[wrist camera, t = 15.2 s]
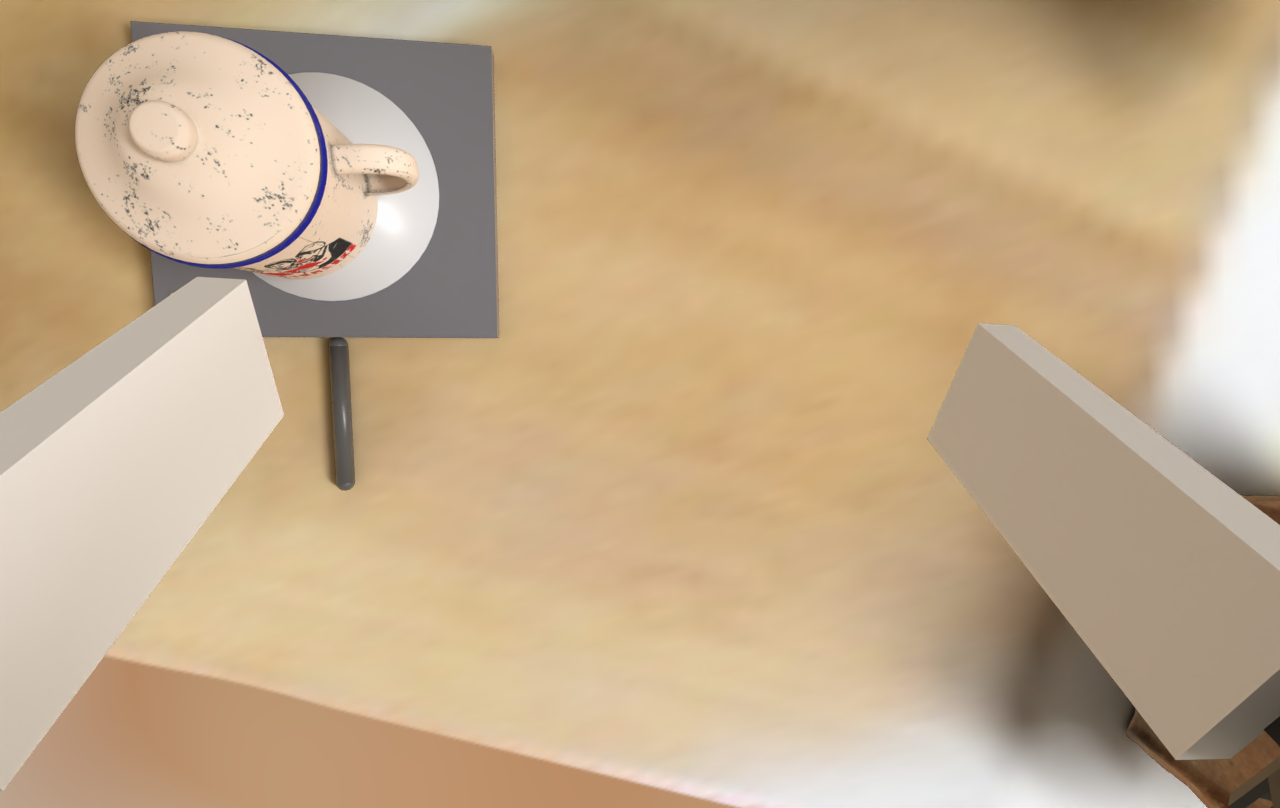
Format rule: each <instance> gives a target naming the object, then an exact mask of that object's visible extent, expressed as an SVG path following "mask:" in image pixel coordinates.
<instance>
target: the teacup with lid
mask: <svg viewBox="0 0 1280 808" xmlns="http://www.w3.org/2000/svg"><path fill="white" fill-rule="evenodd" d="M75 143H76V150H77V156H78V160H79V164H80V167H81V170H82V173H83V176H84V178H85V180H86V182H87V185H88V187H89V189H90V190H91V192H92V194H93V196H94V197H95V199H96V201H97V202H98V203H99V205H100V206H101V208H102V209H103V210H104V211H105V213H106V214H107V215H108V216H109V217H110V219H111V220H112V221H113V222H114V223H115V224H116V225H118V226H119V227H120V228H121V229H122V230H123V231H124V232H125V233H127V234H128V235H129V236H130V237H131V238H133V239H134V240H135V241H137V242H138V243H140V244H141V245H142V246H144V247H146V248H147V249H149V250H151V251H153V252H154V253H156V254H159V255H161V256H163V257H165V258H167V259H170V260H173V261H176V262H178V263H182V264H186V265H190V266H195V267H201V268H212V269H227V268H235V269H240V270H245V271H250V272H255V273H260V274H265V275H270V276H275V277H280V278H286V279H312V278H318V277H322V276H325V275H329V274H331V273H333V272H336V271H338V270H339V269H341V268H343V267H345V266H346V265H347V264H349V263H350V262H351V261H352V260H354V259H355V258H356V257H357V256H358V255H359V254H360V253H361V251H362V250H363V249H364V247H365V246H366V244H367V243H368V241H369V239H370V237H371V235H372V233H373V230H374V227H375V223H376V219H377V212H378V196H377V195H388V194H395V193H400V192H404V191H406V190H409V189H410V188H412V187H413V186H415V185H416V183H417V182H418V179H419V173H418V165H417V162H416V160H415V158H414V157H413V156H412V155H411V154H409V153H408V152H406V151H404V150H402V149H399V148H395V147H391V146H385V145H378V144H353V143H352V142H351V141H350V140H349V139H348V138H347V137H346V136H345V135H344V134H343V133H341V132H340V131H339V130H338V129H337V128H336V127H335V126H334V125H333V124H332V123H331V122H330V121H329V120H327V119H326V118H325V117H324V116H323V115H322V114H321V113H320V112H319V111H318V110H317V109H316V108H314V107H313V106H312V105H311V104H310V102H309V101H308V99H307V97H306V96H305V94H304V93H303V92H302V90H301V89H300V88H299V86H298V85H297V84H296V83H295V82H294V81H293V80H292V78H291V77H290V76H289V75H288V74H287V73H286V72H284V71H283V70H282V69H281V68H280V67H279V66H278V65H276V64H275V63H274V62H273V61H271V60H270V59H268V58H267V57H265V56H264V55H262V54H261V53H259V52H257V51H256V50H254V49H252V48H250V47H248V46H246V45H243V44H241V43H239V42H236V41H233V40H230V39H227V38H224V37H220V36H215V35H211V34H207V33H199V32H187V31H178V32H167V33H160V34H155V35H151V36H148V37H144V38H142V39H139V40H137V41H134V42H132V43H130V44H128V45H126V46H124V47H122V48H121V49H119V50H118V51H116V52H115V53H113V54H112V55H111V56H110V57H109V58H108V59H106V60H105V61H104V62H103V63H102V64H101V65H100V67H99V68H98V69H97V70H96V71H95V73H94V74H93V75H92V77H91V78H90V80H89V82H88V84H87V85H86V87H85V89H84V92H83V94H82V96H81V99H80V102H79V106H78V110H77V115H76V122H75Z"/></svg>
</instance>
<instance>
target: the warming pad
mask: <svg viewBox="0 0 1280 808" xmlns="http://www.w3.org/2000/svg"><path fill="white" fill-rule="evenodd" d="M130 22H131V33H132V42H134V41H137V40H139V39H142V38H144V37H148V36H151V35H155V34H160V33H167V32H178V31H187V32H199V33H207V34H211V35H215V36H220V37H224V38H227V39H230V40H233V41H236V42H239V43H241V44H243V45H246V46H248V47H250V48H252V49H254V50H256V51H257V52H259V53H261V54H262V55H264V56H265V57H267V58H268V59H270V60H271V61H273V62H274V63H275V64H276V65H278V66H279V67H280V68H281V69H282V70H283V71H284V72H286V73H287V74H288V75H289V76H290V77H291V78H292V80H293V81H294V82H295V83H296V84H297V85H298V86H299V88H300V89H301V90H302V92H303V93H304V94H305V96H306V97H307V99H308V101H309V102H310V104H311V105H312V106H313V107H314V108H316V109H317V110H318V111H319V112H320V113H321V114H322V115H323V116H324V117H325V118H326V119H327V120H329V121H330V122H331V123H332V124H333V125H334V126H335V127H336V128H337V129H338V130H339V131H340V132H341V133H343V134H344V135H345V136H346V137H347V138H348V139H349V140H350V141H351V142H352V143H353V144H378V145H385V146H391V147H395V148H399V149H402V150H404V151H406V152H408V153H409V154H411V155H412V156H413V157H414V158H415V160H416V162H417V165H418V173H419V179H418V182H417V183H416V185H415V186H413V187H412V188H410V189H409V190H406V191H404V192H400V193H395V194H388V195H377V196H378V212H377V219H376V223H375V227H374V230H373V233H372V235H371V237H370V239H369V241H368V243H367V244H366V246H365V247H364V249H363V250H362V251H361V253H360V254H359V255H358V256H357V257H356V258H355V259H354V260H352V261H351V262H350V263H349V264H347V265H346V266H345V267H343V268H341V269H339V270H338V271H336V272H333V273H331V274H329V275H325V276H322V277H318V278H312V279H286V278H280V277H275V276H270V275H265V274H260V273H255V272H250V271H245V270H240V269H235V268H227V269H212V268H201V267H195V266H190V265H186V264H182V263H178V262H176V261H173V260H170V259H167V258H165V257H163V256H161V255H159V254H156V253H154V252H153V251H151V250H150V252H151V264H152V276H153V287H154V299H155V305H157V304H158V303H160V302H161V301H163V300H164V299H166V298H167V297H168V296H170V295H171V294H173V293H174V292H176V291H177V290H179V289H180V288H181V287H183V286H184V285H186V284H187V283H189V282H190V281H192V280H193V279H195V278H196V277H210V278H227V279H244V280H247V284H248V288H249V291H250V295H251V298H252V302H253V306H254V309H255V313H256V316H257V320H258V323H259V327H260V331H261V334H262V337H335V338H333V339H332V340H331V341H330V342H329V359H330V377H331V396H332V415H333V433H334V452H335V471H336V485H337V487H338V488H339V489H341V490H349V489H351V488H352V487H353V486H354V484H355V471H354V451H353V431H352V411H351V391H350V371H349V351H348V343H347V341H346V340H345V339H343V338H341V337H388V338H499V298H498V249H497V200H496V151H495V103H494V56H493V52H492V47H491V46H481V45H466V44H452V43H438V42H423V41H409V40H395V39H380V38H366V37H351V36H337V35H323V34H308V33H294V32H280V31H265V30H251V29H236V28H222V27H208V26H193V25H179V24H165V23H150V22H136V21H130Z"/></svg>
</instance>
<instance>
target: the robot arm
mask: <svg viewBox="0 0 1280 808" xmlns="http://www.w3.org/2000/svg"><path fill="white" fill-rule="evenodd" d="M283 416H284V413H283V409H282V406H281V402H280V399H279V395H278V392H277V388H276V384H275V381H274V377H273V374H272V370H271V366H270V363H269V359H268V356H267V352H266V349H265V345H264V341H263V338H262V334H261V331H260V327H259V323H258V320H257V316H256V313H255V309H254V306H253V302H252V298H251V295H250V291H249V288H248V284H247V280H244V279H227V278H210V277H196V278H195V279H193V280H192V281H190V282H189V283H187V284H186V285H184V286H183V287H181V288H180V289H179V290H177V291H176V292H174V293H173V294H171V295H170V296H168V297H167V298H166V299H164V300H163V301H161V302H160V303H158V304H157V305H155V306H154V307H152V308H151V309H150V310H148V311H147V312H145V313H144V314H142V315H141V316H139V317H138V318H137V319H135V320H134V321H132V322H131V323H129V324H128V325H126V326H125V327H123V328H122V329H121V330H119V331H118V332H116V333H115V334H113V335H112V336H110V337H109V338H108V339H106V340H105V341H103V342H102V343H100V344H99V345H97V346H96V347H94V348H93V349H92V350H90V351H89V352H87V353H86V354H84V355H83V356H81V357H80V358H79V359H77V360H76V361H74V362H73V363H71V364H70V365H68V366H67V367H65V368H64V369H63V370H61V371H60V372H58V373H57V374H55V375H54V376H52V377H51V378H50V379H48V380H47V381H45V382H44V383H42V384H41V385H39V386H38V387H36V388H35V389H34V390H32V391H31V392H29V393H28V394H26V395H25V396H23V397H22V398H21V399H19V400H18V401H16V402H15V403H13V404H12V405H10V406H9V407H7V408H6V409H5V410H3V411H2V412H0V791H4V789H5V788H6V787H7V785H8V784H9V783H10V781H11V780H12V779H13V777H14V776H15V775H16V773H17V772H18V770H19V769H20V768H21V767H22V765H23V764H24V763H25V761H26V760H27V759H28V757H29V756H30V755H31V753H32V752H33V751H34V749H35V748H36V747H37V745H38V744H39V742H40V741H41V740H42V738H43V737H44V736H45V734H46V733H47V732H48V730H49V729H50V728H51V726H52V725H53V724H54V722H55V721H56V720H57V718H58V717H59V716H60V714H61V713H62V712H63V710H64V709H65V707H66V706H67V705H68V704H69V702H70V701H71V700H72V698H73V697H74V696H75V694H76V693H77V692H78V690H79V689H80V688H81V686H82V685H83V684H84V682H85V681H86V680H87V678H88V677H89V676H90V674H91V673H92V671H93V670H94V669H95V668H96V666H97V665H98V664H99V662H100V661H101V660H102V658H103V657H104V656H105V654H106V653H107V652H108V650H109V649H110V648H111V646H112V645H113V644H114V642H115V641H116V640H117V638H118V637H119V636H120V634H121V633H122V631H123V630H124V629H125V627H126V626H127V625H128V623H129V622H130V621H131V619H132V618H133V617H134V615H135V614H136V613H137V611H138V610H139V609H140V607H141V606H142V605H143V603H144V602H145V601H146V599H147V598H148V597H149V595H150V594H151V593H152V591H153V590H154V589H155V587H156V586H157V585H158V583H159V582H160V581H161V579H162V578H163V577H164V575H165V574H166V573H167V571H168V570H169V569H170V567H171V566H172V565H173V563H174V562H175V561H176V559H177V558H178V557H179V555H180V554H181V553H182V551H183V550H184V549H185V547H186V546H187V545H188V543H189V542H190V541H191V539H192V538H193V537H194V535H195V534H196V533H197V531H198V530H199V529H200V527H201V526H202V525H203V523H204V522H205V520H206V519H207V518H208V516H209V515H210V514H211V512H212V511H213V510H214V508H215V507H216V506H217V504H218V503H219V502H220V500H221V499H222V498H223V496H224V495H225V494H226V492H227V491H228V490H229V488H230V487H231V486H232V484H233V483H234V482H235V480H236V479H237V478H238V476H239V475H240V474H241V472H242V471H243V470H244V468H245V467H246V466H247V464H248V463H249V462H250V460H251V459H252V458H253V456H254V455H255V454H256V452H257V451H258V450H259V448H260V447H261V446H262V444H263V443H264V442H265V440H266V439H267V438H268V436H269V435H270V434H271V432H272V431H273V430H274V428H275V427H276V426H277V424H278V423H279V422H280V420H281V419H282V418H283ZM927 440H928V441H929V442H930V444H931V445H932V446H933V448H934V449H935V450H936V451H937V453H938V454H939V455H940V457H941V458H942V459H943V460H944V462H945V463H946V464H947V466H948V467H949V468H950V469H951V471H952V472H953V473H954V475H955V476H956V477H957V478H958V480H959V481H960V482H961V484H962V485H963V486H964V488H965V489H966V490H967V491H968V493H969V494H970V495H971V497H972V498H973V499H974V500H975V502H976V503H977V504H978V506H979V507H980V508H981V509H982V511H983V512H984V513H985V515H986V516H987V517H988V518H989V520H990V521H991V522H992V524H993V525H994V526H995V528H996V529H997V530H998V531H999V533H1000V534H1001V535H1002V537H1003V538H1004V539H1005V540H1006V542H1007V543H1008V544H1009V546H1010V547H1011V548H1012V549H1013V551H1014V552H1015V553H1016V555H1017V556H1018V557H1019V558H1020V560H1021V561H1022V562H1023V564H1024V565H1025V566H1026V567H1027V569H1028V570H1029V571H1030V573H1031V574H1032V575H1033V577H1034V578H1035V579H1036V580H1037V582H1038V583H1039V584H1040V586H1041V587H1042V588H1043V589H1044V591H1045V592H1046V593H1047V595H1048V596H1049V597H1050V598H1051V600H1052V601H1053V602H1054V604H1055V605H1056V606H1057V607H1058V609H1059V610H1060V611H1061V613H1062V614H1063V615H1064V617H1065V618H1066V619H1067V620H1068V622H1069V623H1070V624H1071V626H1072V627H1073V628H1074V629H1075V631H1076V632H1077V633H1078V635H1079V636H1080V637H1081V638H1082V640H1083V641H1084V642H1085V644H1086V645H1087V646H1088V647H1089V649H1090V650H1091V651H1092V653H1093V654H1094V655H1095V657H1096V658H1097V659H1098V660H1099V662H1100V663H1101V664H1102V666H1103V667H1104V668H1105V669H1106V671H1107V672H1108V673H1109V675H1110V676H1111V677H1112V678H1113V680H1114V681H1115V682H1116V684H1117V685H1118V686H1119V687H1120V689H1121V690H1122V691H1123V693H1124V694H1125V695H1126V697H1127V698H1128V699H1129V700H1130V702H1131V703H1132V704H1133V706H1134V707H1135V708H1136V709H1137V711H1138V712H1139V713H1140V715H1141V716H1142V717H1143V718H1144V720H1145V721H1146V722H1147V724H1148V725H1149V726H1150V727H1151V729H1152V730H1153V731H1154V733H1155V734H1156V735H1157V736H1158V738H1159V739H1160V740H1161V742H1162V743H1163V744H1164V746H1165V747H1166V748H1167V749H1168V751H1169V752H1170V753H1171V755H1172V756H1173V757H1174V758H1175V760H1198V759H1231V758H1232V757H1233V756H1234V755H1236V754H1237V753H1238V752H1239V751H1241V750H1242V749H1243V748H1244V747H1245V746H1247V745H1248V744H1249V743H1250V742H1252V741H1253V740H1254V739H1255V738H1257V737H1258V736H1259V735H1260V734H1262V733H1263V732H1264V731H1265V732H1266V733H1267V734H1268V735H1269V736H1270V737H1271V738H1272V739H1273V740H1274V741H1275V742H1276V744H1277V745H1278V746H1279V747H1280V525H1279V524H1278V523H1276V522H1275V521H1274V520H1272V519H1271V518H1270V517H1268V516H1267V515H1266V514H1264V513H1263V512H1262V511H1260V510H1259V509H1258V508H1257V507H1255V506H1254V505H1253V504H1251V503H1250V502H1249V501H1247V500H1246V499H1245V498H1243V497H1242V496H1241V495H1239V494H1238V493H1237V492H1235V491H1234V490H1233V489H1231V488H1230V487H1229V486H1227V485H1226V484H1225V483H1223V482H1222V481H1221V480H1219V479H1218V478H1217V477H1215V476H1214V475H1213V474H1211V473H1210V472H1209V471H1207V470H1206V469H1205V468H1203V467H1202V466H1201V465H1200V464H1198V463H1197V462H1196V461H1194V460H1193V459H1192V458H1190V457H1189V456H1188V455H1186V454H1185V453H1184V452H1182V451H1181V450H1180V449H1178V448H1177V447H1176V446H1174V445H1173V444H1172V443H1170V442H1169V441H1168V440H1166V439H1165V438H1164V437H1162V436H1161V435H1160V434H1158V433H1157V432H1156V431H1154V430H1153V429H1152V428H1150V427H1149V426H1148V425H1146V424H1145V423H1144V422H1142V421H1141V420H1140V419H1139V418H1137V417H1136V416H1135V415H1133V414H1132V413H1131V412H1129V411H1128V410H1127V409H1125V408H1124V407H1123V406H1121V405H1120V404H1119V403H1117V402H1116V401H1115V400H1113V399H1112V398H1111V397H1109V396H1108V395H1107V394H1105V393H1104V392H1103V391H1101V390H1100V389H1099V388H1097V387H1096V386H1095V385H1093V384H1092V383H1091V382H1089V381H1088V380H1087V379H1085V378H1084V377H1083V376H1082V375H1080V374H1079V373H1078V372H1076V371H1075V370H1074V369H1072V368H1071V367H1070V366H1068V365H1067V364H1066V363H1064V362H1063V361H1062V360H1060V359H1059V358H1058V357H1056V356H1055V355H1054V354H1052V353H1051V352H1050V351H1048V350H1047V349H1046V348H1044V347H1043V346H1042V345H1040V344H1039V343H1038V342H1036V341H1035V340H1034V339H1032V338H1031V337H1030V336H1028V335H1027V334H1026V333H1024V332H1023V331H1022V330H1021V329H1019V328H1018V327H1017V326H1015V325H999V324H982V323H978V325H977V327H976V329H975V331H974V334H973V336H972V338H971V340H970V343H969V345H968V347H967V349H966V352H965V354H964V356H963V358H962V361H961V363H960V365H959V367H958V370H957V372H956V374H955V376H954V379H953V381H952V383H951V385H950V388H949V390H948V392H947V394H946V397H945V399H944V401H943V404H942V406H941V408H940V410H939V413H938V415H937V417H936V419H935V422H934V424H933V426H932V428H931V431H930V433H929V435H928V437H927ZM1259 798H1262V799H1265V800H1269V801H1272V804H1273V806H1271V807H1270V808H1280V756H1279V757H1278V758H1277V759H1275V760H1274V761H1273V762H1271V763H1270V764H1269V765H1267V766H1266V767H1265V768H1264V769H1262V770H1261V771H1260V772H1258V773H1257V774H1256V775H1254V776H1253V777H1252V778H1250V779H1249V780H1248V781H1246V782H1245V783H1244V784H1242V785H1241V786H1240V787H1238V788H1237V789H1236V790H1235V791H1233V792H1232V793H1231V794H1230V798H1229V803H1228V807H1229V808H1246V807H1248V806H1249V805H1251V804H1252V803H1253V802H1255V801H1256V800H1258V799H1259Z"/></svg>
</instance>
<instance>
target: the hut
mask: <svg viewBox="0 0 1280 808" xmlns="http://www.w3.org/2000/svg"><path fill="white" fill-rule="evenodd" d="M1241 496H1242V497H1243V498H1245V499H1246V500H1247V501H1249V502H1250V503H1251V504H1253V505H1254V506H1255V507H1257V508H1258V509H1259V510H1260V511H1262V512H1263V513H1264V514H1266V515H1267V516H1268V517H1270V518H1271V519H1272V520H1274V521H1275V522H1276V523H1278V524H1279V525H1280V496H1244V495H1241ZM1126 733H1127V736H1128V737H1129V738H1130V739H1132V740H1133V741H1134V742H1136V743H1137V744H1139V745H1140V746H1141V748H1142V749H1143V750H1144V751H1145V752H1146V753H1147V754H1148V755H1149V756H1150V757H1151V758H1153V759H1154V760H1155V761H1156V762H1157V763H1158V764H1160V765H1161V766H1162V767H1163V768H1164V769H1166V770H1167V771H1168V772H1170V773H1171V774H1172V775H1174V776H1175V777H1176V778H1178V779H1179V780H1180V781H1182V782H1183V783H1184V784H1185V785H1187V786H1188V787H1189V788H1190V789H1191V790H1192V791H1193V792H1194V793H1195V795H1196V796H1197V797H1198V798H1199V799H1200V800H1201V801H1202V802H1203V803H1204V804H1205V806H1206V807H1207V808H1229V807H1228V803H1229V798H1230V794H1231V793H1232V792H1233V791H1235V790H1236V789H1237V788H1238V787H1240V786H1241V785H1242V784H1244V783H1245V782H1246V781H1248V780H1249V779H1250V778H1252V777H1253V776H1254V775H1256V774H1257V773H1258V772H1260V771H1261V770H1262V769H1264V768H1265V767H1266V766H1267V765H1269V764H1270V763H1271V762H1273V761H1274V760H1275V759H1277V758H1278V757H1279V756H1280V747H1279V746H1278V745H1277V744H1276V742H1275V741H1274V740H1273V739H1272V738H1271V737H1270V736H1269V735H1268V734H1267V733H1266V732H1265V731H1264V732H1263V733H1262V734H1260V735H1259V736H1258V737H1257V738H1255V739H1254V740H1253V741H1252V742H1250V743H1249V744H1248V745H1247V746H1245V747H1244V748H1243V749H1242V750H1241V751H1239V752H1238V753H1237V754H1236V755H1234V756H1233V757H1232V758H1231V759H1198V760H1175V758H1174V757H1173V756H1172V755H1171V753H1170V752H1169V751H1168V749H1167V748H1166V747H1165V746H1164V744H1163V743H1162V742H1161V740H1160V739H1159V738H1158V736H1157V735H1156V734H1155V733H1154V731H1153V730H1152V729H1151V727H1150V726H1149V725H1148V724H1147V722H1146V721H1145V720H1144V718H1143V717H1142V716H1141V715H1140V713H1139V712H1138V711H1137V709H1136V710H1135V714H1134V716H1133V718H1132V720H1131V722H1130V724H1129V726H1128V728H1127V732H1126ZM1271 806H1273V804H1272V801H1269V800H1265V799H1262V798H1259V799H1258V800H1256V801H1255V802H1253V803H1252V804H1251V805H1249V806H1248V807H1246V808H1270V807H1271Z"/></svg>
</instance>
